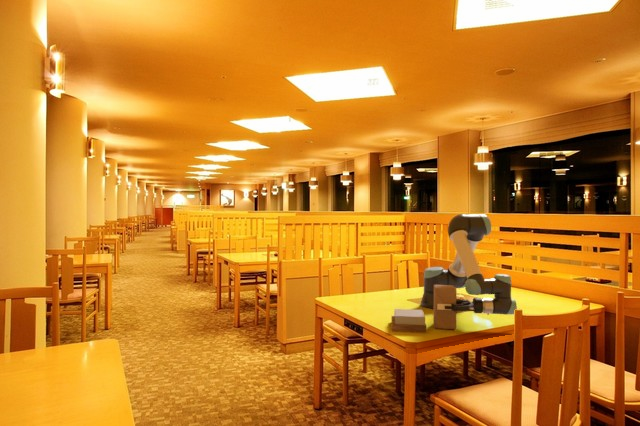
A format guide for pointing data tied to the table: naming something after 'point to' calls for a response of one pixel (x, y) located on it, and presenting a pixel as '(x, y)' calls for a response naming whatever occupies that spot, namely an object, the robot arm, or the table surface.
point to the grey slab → (409, 317)
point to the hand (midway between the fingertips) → (435, 304)
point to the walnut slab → (407, 327)
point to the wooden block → (444, 296)
